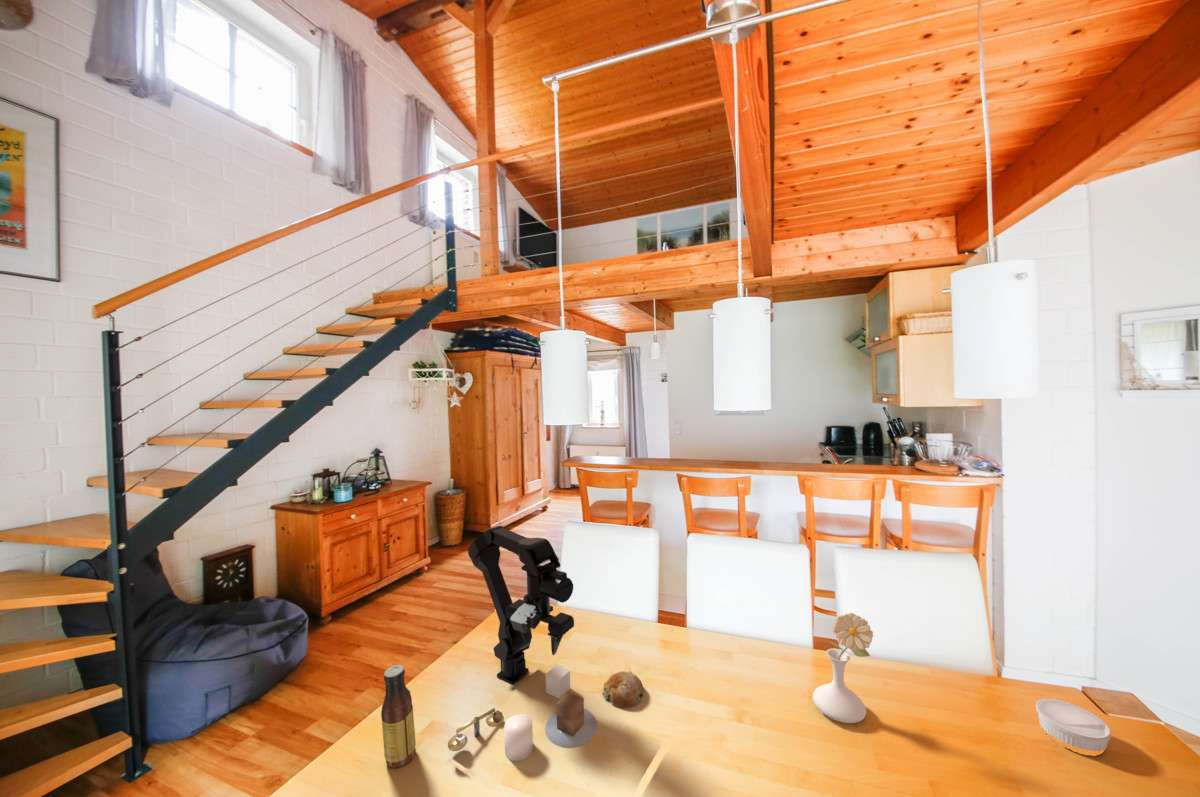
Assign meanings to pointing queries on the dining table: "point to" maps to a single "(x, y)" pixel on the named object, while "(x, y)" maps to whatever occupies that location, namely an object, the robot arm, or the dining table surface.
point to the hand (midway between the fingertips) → (540, 648)
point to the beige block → (557, 681)
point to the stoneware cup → (518, 737)
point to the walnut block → (570, 713)
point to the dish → (566, 740)
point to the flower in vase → (836, 695)
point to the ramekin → (1073, 724)
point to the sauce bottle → (397, 719)
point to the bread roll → (623, 689)
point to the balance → (461, 740)
